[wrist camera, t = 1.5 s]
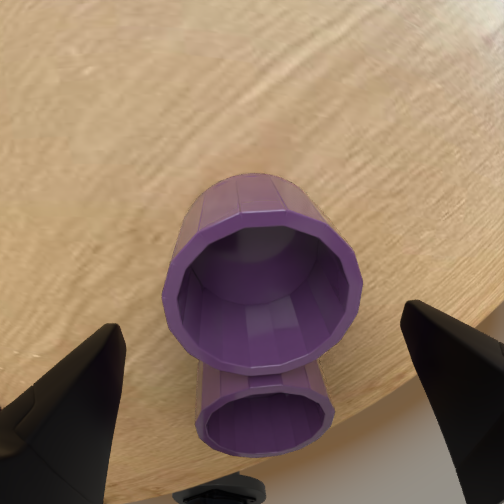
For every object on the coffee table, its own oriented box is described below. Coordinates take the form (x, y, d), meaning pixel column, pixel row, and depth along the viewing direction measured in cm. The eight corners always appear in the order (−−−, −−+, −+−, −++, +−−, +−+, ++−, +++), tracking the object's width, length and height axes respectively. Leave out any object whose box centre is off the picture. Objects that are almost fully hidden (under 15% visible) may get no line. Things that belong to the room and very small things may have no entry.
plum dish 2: (335, 351, 18) (359, 414, 14) (258, 407, 19) (266, 466, 15) (255, 293, 15) (265, 363, 11) (176, 364, 17) (168, 431, 13)
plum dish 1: (351, 239, 14) (395, 294, 10) (256, 325, 16) (265, 396, 12) (249, 140, 12) (263, 161, 8) (151, 251, 14) (125, 314, 10)
